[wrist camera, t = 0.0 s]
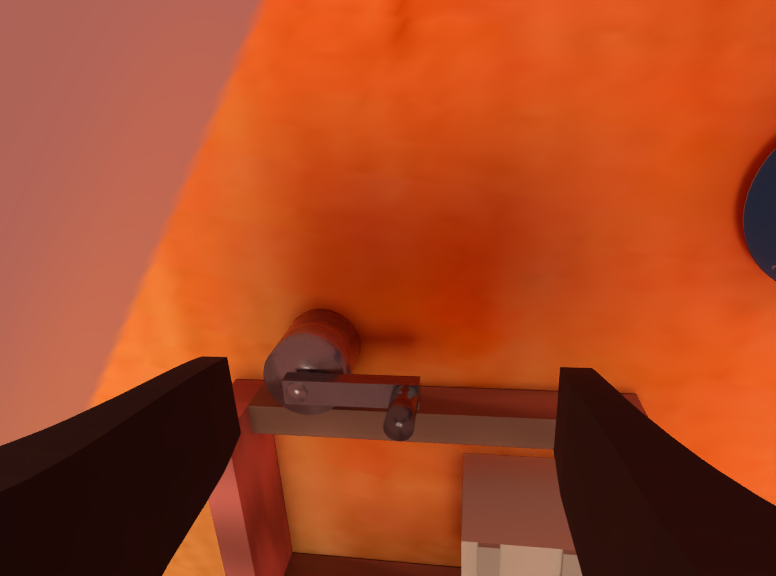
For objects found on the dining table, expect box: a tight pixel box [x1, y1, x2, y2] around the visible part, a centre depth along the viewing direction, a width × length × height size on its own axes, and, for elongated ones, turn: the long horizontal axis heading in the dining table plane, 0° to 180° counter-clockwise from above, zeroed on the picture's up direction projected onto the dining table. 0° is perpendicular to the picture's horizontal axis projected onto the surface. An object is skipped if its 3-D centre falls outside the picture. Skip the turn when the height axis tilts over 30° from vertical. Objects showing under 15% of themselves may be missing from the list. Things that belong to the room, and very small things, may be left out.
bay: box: [208, 379, 648, 576], centre depth 23 cm, size 12×17×4 cm
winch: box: [263, 310, 421, 441], centre depth 20 cm, size 3×6×6 cm, turn 93°
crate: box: [461, 453, 582, 576], centre depth 22 cm, size 5×5×5 cm
